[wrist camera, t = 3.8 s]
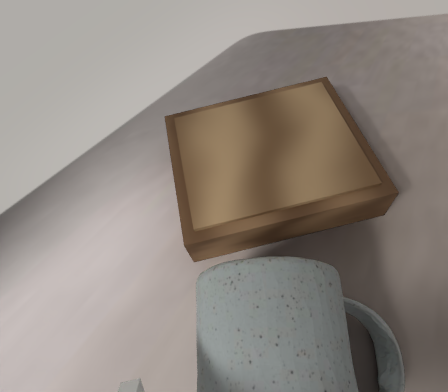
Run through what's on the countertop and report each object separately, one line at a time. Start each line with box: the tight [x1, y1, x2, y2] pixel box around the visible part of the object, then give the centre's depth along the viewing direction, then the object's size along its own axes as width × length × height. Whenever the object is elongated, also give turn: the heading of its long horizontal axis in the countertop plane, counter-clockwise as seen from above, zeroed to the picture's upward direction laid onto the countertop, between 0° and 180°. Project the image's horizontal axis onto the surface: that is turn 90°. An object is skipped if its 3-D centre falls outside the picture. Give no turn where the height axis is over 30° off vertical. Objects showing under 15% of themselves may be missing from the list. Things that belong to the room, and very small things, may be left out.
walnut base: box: [165, 77, 399, 262], centre depth 24 cm, size 14×12×3 cm
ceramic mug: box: [196, 256, 405, 392], centre depth 15 cm, size 11×8×8 cm
